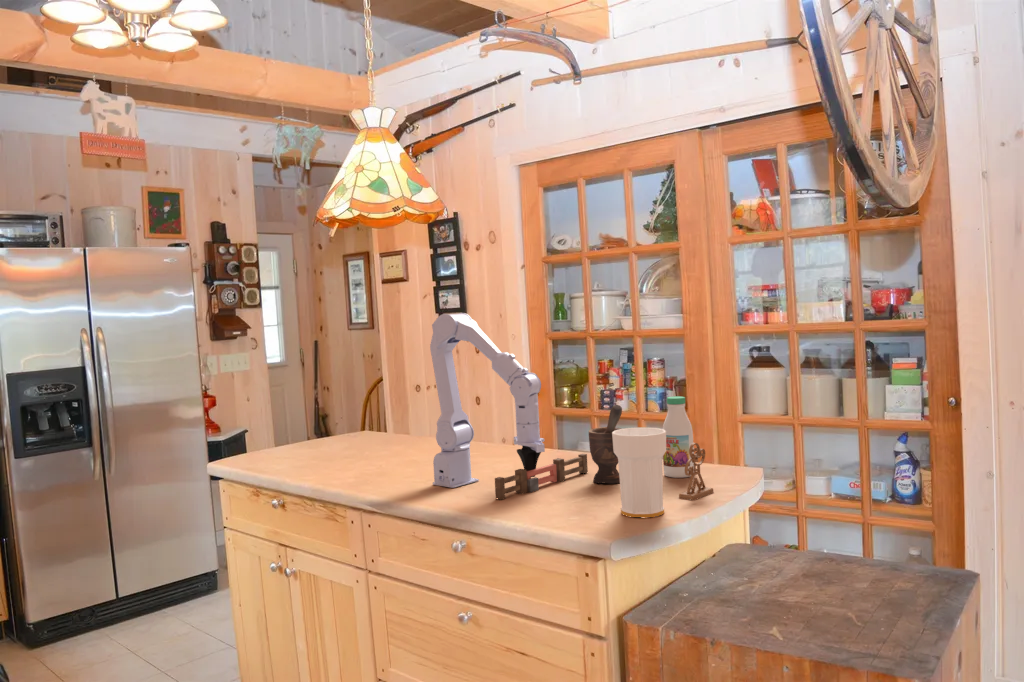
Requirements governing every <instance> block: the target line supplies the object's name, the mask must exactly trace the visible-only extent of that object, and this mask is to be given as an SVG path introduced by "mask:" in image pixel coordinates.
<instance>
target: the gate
mask: <svg viewBox="0 0 1024 682" xmlns="http://www.w3.org/2000/svg"><path fill="white" fill-rule="evenodd" d="M547 472H549V474H548V475H545V476H542V477H537V478H538V484H539V486H540V485H543V484H546V483H549V482H550V483H556V482H558V481H557V471H556V464H553V463H551V464H548V465H544V466H540V467H538V468H537V467H536V469H533V470H530V471H527V480H528V479H531V478H532V477H531V476H535V477H536V476H538V475H541V474H545V473H547Z"/></svg>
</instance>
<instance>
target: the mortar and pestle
mask: <svg viewBox="0 0 1024 682" xmlns="http://www.w3.org/2000/svg"><path fill="white" fill-rule="evenodd" d="M622 412H623V408H622V406H621V405H618V404H614V405H612V407H611V408H610V411H609V416H608V421H607V425H606V426H603V427H602V426H601V427H595V428H591V429H589V430H588V442H589V452H590V456H591V458H592V461H593V462H594V463H595V464H596V466H597V467H598V470H597V472H596V473H595V474H594V477H593V480H592V481H593V483H595V484H606V485H607V484H611V485H612V484H613V485H614V484H620V477H619V470H618V469H617V465H619V464H618V457H617V456H616V455H615V453H614V451H613V439H612V432H613V431H615V430H619V429H622V428H620V427H617V425H618V423H619V421H620V418H621V416H622V414H623V413H622Z"/></svg>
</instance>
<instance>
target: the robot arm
mask: <svg viewBox="0 0 1024 682" xmlns="http://www.w3.org/2000/svg"><path fill="white" fill-rule="evenodd" d="M431 328H432V335H431V341H430V344H429V345H430V347H429V348H430V354H431V360H432V366H433V367H432V368H433V370H434V371H433V372H434V377H435V378H434V379H435V384H436V390H437V397H438V401H439V407H440V413H441V414H440V416H439V418H438V419H437V421H436V425H437V426H436V427H437V428H436V430H437V431H436V434H435V440H436V444H437V445H438V446H439V447H440V448H441V449H440V450H441V451H440V452H438V453H436V454H435V455H434V458H433V464H432V465H433V478H434V482H432V485H434V486H441V487H445V488H452V489H454V488H457V487H461V486H464V485H469V484H472V483H476V482H479V481H480V479H479V478H474V477H472V464H471V442H473V439H474V436H475V430H474V427H473V426H472V424H471V422H470V420H469V415H468V414H467V413H466V412H465V411H464V410H463V407H462V401H461V397H460V395H461V394H460V389H459V384H458V380H457V373H456V372H457V371H456V366H455V361H454V355H453V350H454V349H455V348H456V347H457V345H458V344H459V342H461V341H464V342H465V341H466V342H469V343H470V344H471V345H473V346H474V348H476V349H477V350H478V351H479V352H480V353H482V354H483V355H484V356H485V357H486V358H487V359H488V360H490V362H491V369H492V370H493V371H494V372H495V373H496V374H497V375H498V376H499V377H500V379H502V380H503V381H504V382H505V383H506V384H507V385H508V387H509V392H510V393H511V395H512V396H513V398H514V404H515V405H514V408H515V423H516V425H515V426H516V436H513V444H514V445H518V446H521V448H518V449H516V453H517V454H518V456H519V459H520V461H521V464H522V466H523V469H526V471H530V470H533V469H537V464H538V460H539V457H540V455H541V453H545V451H546V448H545V443H543V442H545V438H543V437H541V433H540V431H541V430H540V412H539V395H538V393H540V391H541V389H542V382H541V379H540V378H539V376H538V375H537V374H536V373H535V372H529V369H528V368H527V367H524V366H523V365H521V363H519V361H518V360H517V359H516V355H515V354H514V353H509V352H508V351H503V352H502V351H501V350H500V349H499V348H498V346H496V344H495V343H494V342H493V341H492V340H491V339H490V338H489V336H488V335H487V334H486V333H485V332H484V331H483V330H482V329H481V328H480V326H479V324H478V322H477V321H476V320H475V319H472V317H471V316H470V315H469V314H468V313H465V312H460V313H459V312H458V313H450V314H448V313H442V314H440V315H438V317H437V318H436V319H435V320H434V322H433V323H432V324H431ZM535 477H536V475H535V476H531V478H535Z"/></svg>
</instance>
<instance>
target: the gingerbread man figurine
mask: <svg viewBox="0 0 1024 682" xmlns="http://www.w3.org/2000/svg"><path fill="white" fill-rule="evenodd" d="M693 446H696V447H694V449H693ZM692 452H694V454H693V453H692ZM689 454H690V457H691V459H689V460H688V461H687V463H686V465H685V475H688V476H690V475H691V477H689V478H690V479H689V481H688V485H687V490H686V491H683V492H681V493H679V494H678V498H679V499H681V498H684V499H683V500H687V499H691V500H690V501H696V500H698V499H701V498H703V497H706V496H709V495H711V494H713V493H714V488H713V487H708V486H706V484H705V481H704V479H703V477H702V474H701V465H702V464H704V462H705V459H706V451H705V448H701V447H700V444H699V443H697V442H693V443H692V444H691V446H690V449H689ZM700 458H701V459H700ZM699 459H700V461H699ZM691 461H692V463H694V464H693V465H694V467H693V466H690V467H689V469H688V465H689V463H690V462H691ZM688 471H689V472H688ZM695 476H698V478H699V479H698V478H697V477H695ZM699 481H700V482H699ZM696 486H697V487H696ZM712 492H713V493H712ZM710 493H711V494H710ZM708 494H709V495H708ZM705 495H706V496H705ZM702 496H703V497H702ZM700 497H701V498H700ZM697 498H698V499H697ZM695 499H696V500H695Z"/></svg>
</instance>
